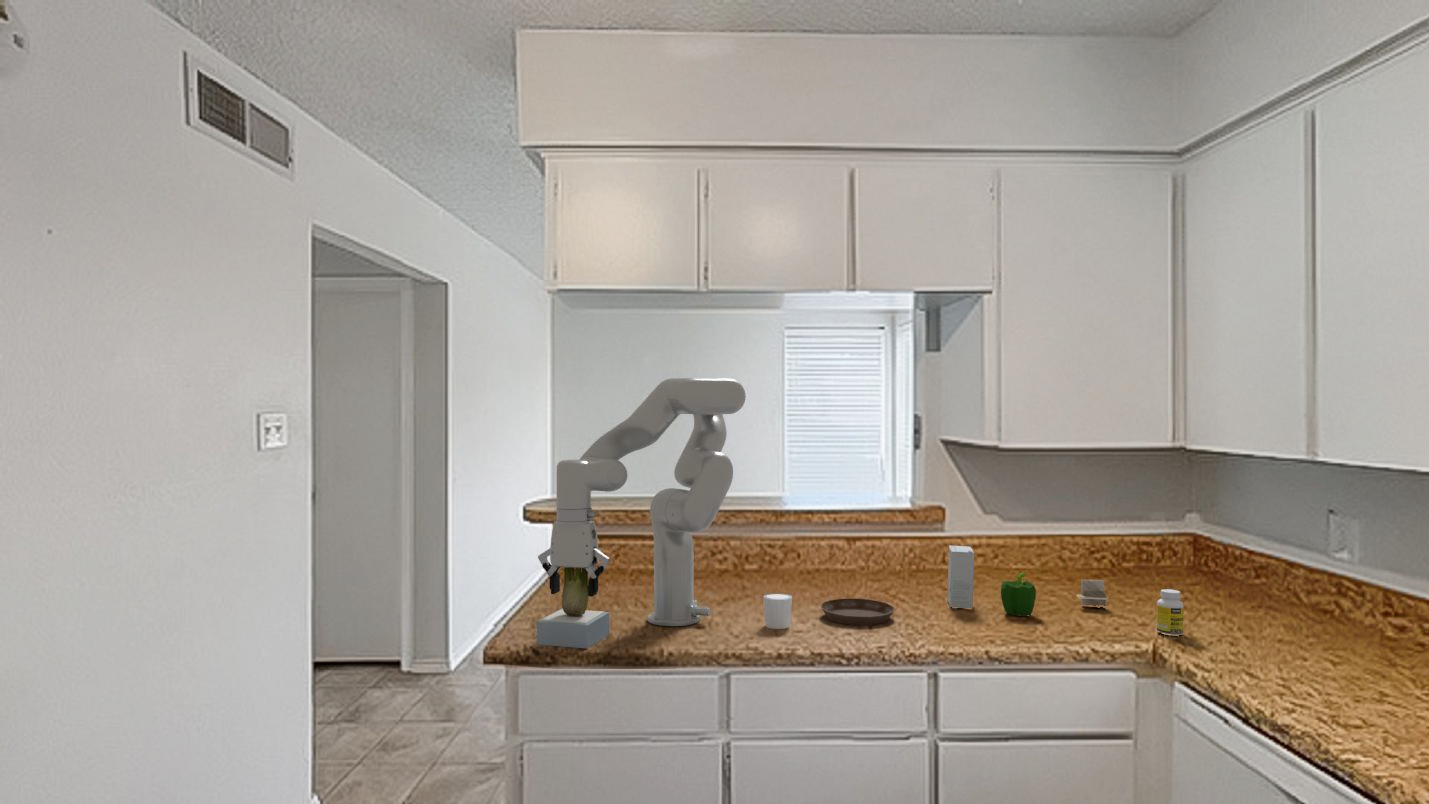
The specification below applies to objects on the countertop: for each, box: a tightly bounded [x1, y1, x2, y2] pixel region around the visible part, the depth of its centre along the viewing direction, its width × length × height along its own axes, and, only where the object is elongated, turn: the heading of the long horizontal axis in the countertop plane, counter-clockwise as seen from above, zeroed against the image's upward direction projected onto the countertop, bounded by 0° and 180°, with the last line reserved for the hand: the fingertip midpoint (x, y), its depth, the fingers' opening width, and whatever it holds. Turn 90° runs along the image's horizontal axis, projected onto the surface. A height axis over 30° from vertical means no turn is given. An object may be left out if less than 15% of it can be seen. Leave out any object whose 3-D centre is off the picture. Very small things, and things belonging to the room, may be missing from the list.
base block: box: [536, 608, 610, 649], centre depth 202 cm, size 12×12×5 cm
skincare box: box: [947, 545, 975, 609], centre depth 235 cm, size 8×6×15 cm
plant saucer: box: [820, 597, 895, 626], centre depth 222 cm, size 18×18×3 cm
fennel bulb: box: [561, 567, 589, 616], centre depth 203 cm, size 6×5×12 cm
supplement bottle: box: [1156, 588, 1185, 635], centre depth 207 cm, size 5×5×10 cm
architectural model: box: [1076, 579, 1108, 606], centre depth 231 cm, size 3×7×7 cm, turn 79°
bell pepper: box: [1000, 572, 1037, 617], centre depth 225 cm, size 8×8×10 cm
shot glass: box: [762, 593, 793, 630], centre depth 214 cm, size 7×7×7 cm
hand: (573, 593), depth 202 cm, fingers open, 8 cm apart
